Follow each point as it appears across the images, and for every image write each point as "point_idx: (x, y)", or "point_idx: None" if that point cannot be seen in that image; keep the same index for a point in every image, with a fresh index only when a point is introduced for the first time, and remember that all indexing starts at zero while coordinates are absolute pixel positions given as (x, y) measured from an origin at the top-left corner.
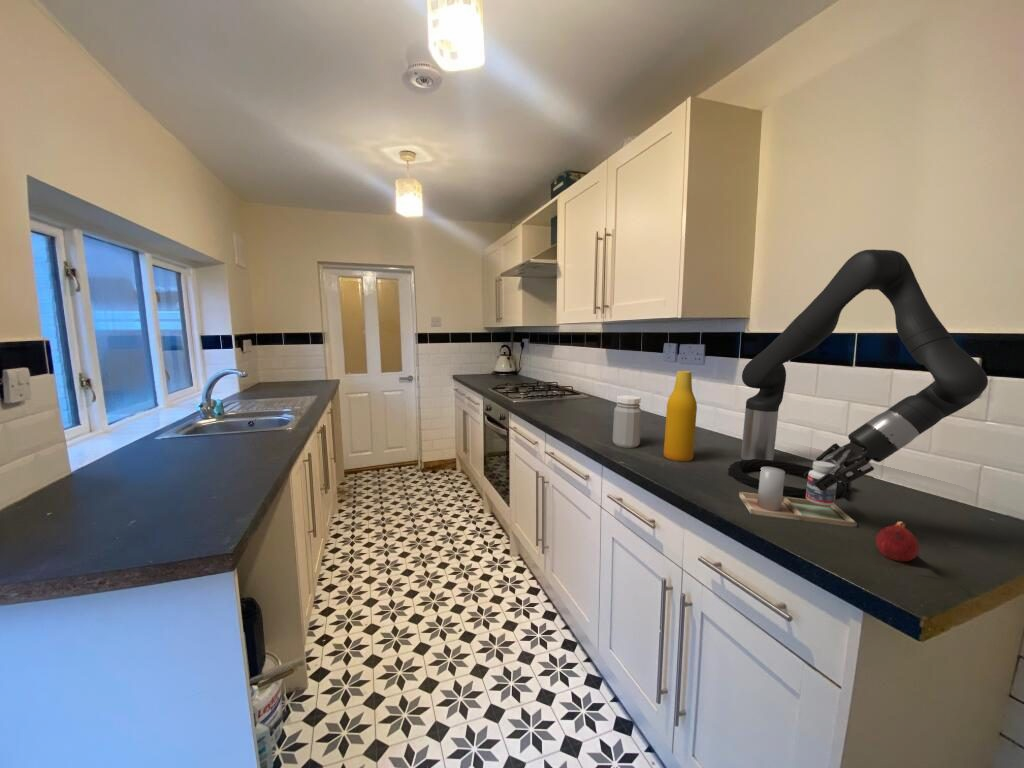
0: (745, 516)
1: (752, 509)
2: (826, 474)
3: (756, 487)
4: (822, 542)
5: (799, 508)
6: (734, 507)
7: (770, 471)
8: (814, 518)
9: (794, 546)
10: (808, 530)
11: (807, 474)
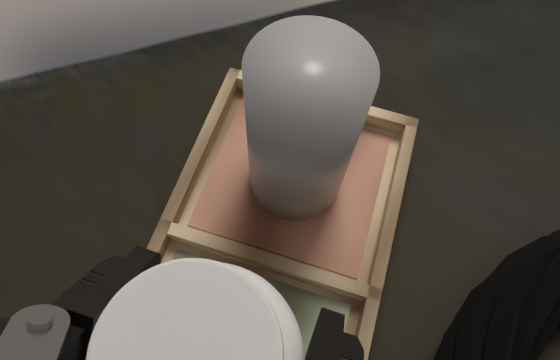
0: None
1: (233, 73)
2: (102, 306)
3: (523, 251)
4: (35, 222)
5: None
6: None
7: (282, 39)
8: None
9: (35, 112)
10: (128, 239)
11: (318, 322)
